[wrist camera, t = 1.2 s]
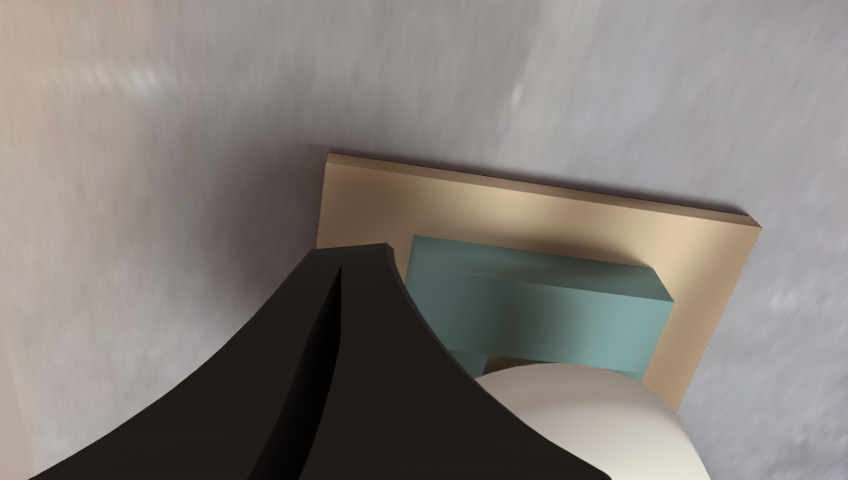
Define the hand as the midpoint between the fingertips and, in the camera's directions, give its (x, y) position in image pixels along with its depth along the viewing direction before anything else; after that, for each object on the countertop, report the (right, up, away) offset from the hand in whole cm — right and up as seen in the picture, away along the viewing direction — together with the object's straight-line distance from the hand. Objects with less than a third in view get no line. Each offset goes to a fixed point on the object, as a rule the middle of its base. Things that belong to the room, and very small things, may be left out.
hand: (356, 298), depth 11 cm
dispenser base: (+4, -2, +13) cm, 14 cm away
